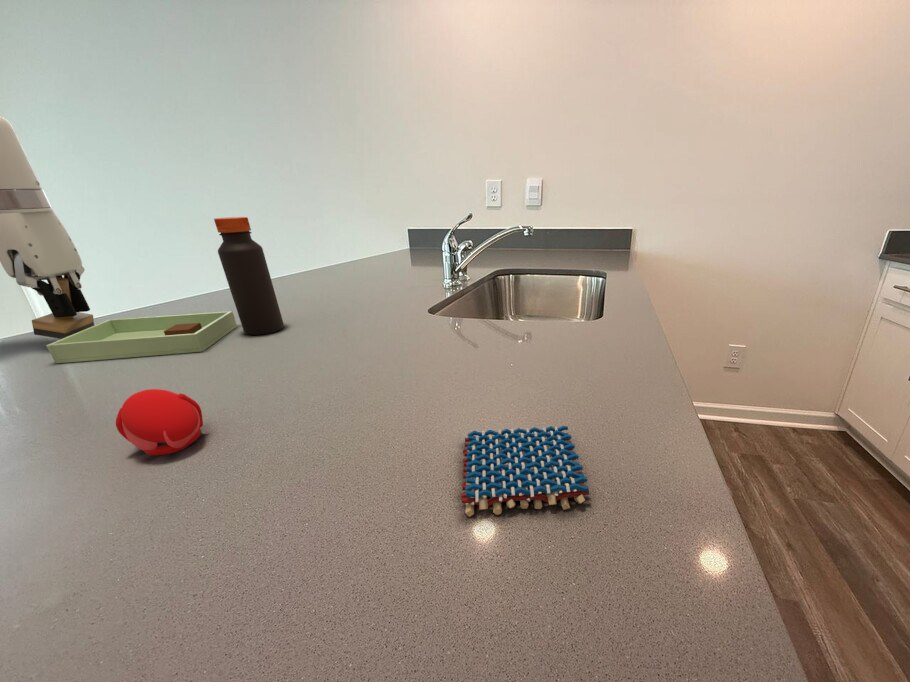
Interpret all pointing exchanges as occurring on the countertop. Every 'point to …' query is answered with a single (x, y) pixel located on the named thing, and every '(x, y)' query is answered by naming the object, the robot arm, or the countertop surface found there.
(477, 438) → the woven mat
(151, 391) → the cap
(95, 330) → the tray
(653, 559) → the countertop surface
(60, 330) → the brush
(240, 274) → the bottle
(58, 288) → the robot arm
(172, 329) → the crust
